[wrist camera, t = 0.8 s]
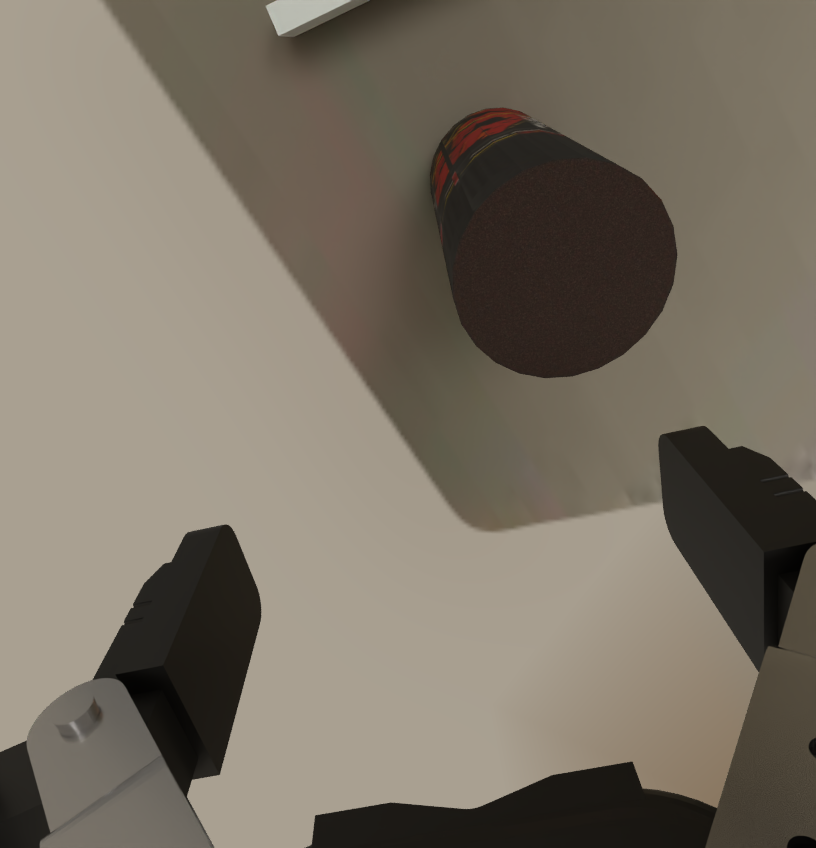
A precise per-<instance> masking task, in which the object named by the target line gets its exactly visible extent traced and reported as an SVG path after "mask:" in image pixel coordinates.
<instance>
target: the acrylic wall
mask: <svg viewBox="0 0 816 848" xmlns="http://www.w3.org/2000/svg"><path fill="white" fill-rule="evenodd" d="M368 1H370V0H277V1H275V2H273V3H271V4H269V5H267V6H266V8H267V10H268V13H269V15H270V17H271V20H272V22H273V24H274V27H275V29H276V31H277V34H278V36H285V37H295V36H297V35H299V34H302V33H304V32H306V31H308V30H310V29H312V28H314V27H316V26H318V25H320V24H322V23H324V22H326V21H328V20H330V19H333V18H335V17H337V16H339V15H341V14H343V13H345V12H347V11H349V10H351V9H353V8H355V7H357V6H359V5H362V4H364V3H366V2H368Z"/></svg>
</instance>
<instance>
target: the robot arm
mask: <svg viewBox="0 0 816 848" xmlns="http://www.w3.org/2000/svg"><path fill="white" fill-rule="evenodd" d="M658 446H659V460H660V473H661V485H662V498H663V509H664V515H665V520H666V524H667V526H668V530H669V532H670V535H671V537H672V539H673V541H674V543H675V544H676V546H677V548H678V549H679V551H680V552H681V554H682V555H683V557H684V558H685V560H686V561H687V562H688V564H689V566H690V567H691V569H692V570H693V572H694V574H695V575H696V576H697V578H698V580H699V581H700V583H701V584H702V586H703V587H704V589H705V590H706V592H707V593H708V595H709V597H710V598H711V600H712V601H713V603H714V604H715V606H716V607H717V609H718V610H719V612H720V613H721V615H722V616H723V618H724V620H725V621H726V623H727V624H728V626H729V627H730V629H731V630H732V632H733V633H734V635H735V636H736V638H737V640H738V641H739V643H740V644H741V646H742V647H743V649H744V650H745V652H746V653H747V655H748V656H749V658H750V659H751V661H752V662H753V664H754V666H755V667H756V669H757V670H758V672H759V674H758V678H757V681H756V684H755V687H754V690H753V694H752V697H751V700H750V704H749V707H748V710H747V714H746V717H745V720H744V723H743V727H742V730H741V733H740V736H739V739H738V743H737V746H736V749H735V753H734V756H733V759H732V762H731V766H730V769H729V772H728V775H727V778H726V782H725V785H724V788H723V791H722V795H721V798H720V801H719V804H718V808H715V807H713V806H710V805H708V804H706V803H703V802H701V801H699V800H695V799H692V798H689V797H686V796H683V795H679V794H675V793H670V792H665V791H660V790H652V789H642V787H641V784H640V781H639V778H638V775H637V773H636V770H635V767H634V765H633V762H627V763H621V764H615V765H609V766H603V767H598V768H592V769H586V770H580V771H574V772H568V773H562V774H556V775H552V776H549V777H547V778H545V779H542V780H540V781H538V782H536V783H533V784H531V785H529V786H527V787H524V788H522V789H520V790H518V791H515V792H513V793H511V794H509V795H506V796H504V797H501V798H499V799H497V800H495V801H492V802H490V803H488V804H486V805H483V806H481V807H478V808H474V809H457V808H445V807H434V806H423V805H412V804H400V803H387V804H380V805H374V806H368V807H363V808H357V809H351V810H345V811H339V812H333V813H328V814H321V815H316V816H315V822H314V831H313V840H312V845H310V846H308V847H306V848H816V500H815V499H814V498H813V497H812V496H811V495H810V494H809V493H808V492H806V491H805V492H804V491H803V488H802V487H801V486H800V485H799V484H798V483H797V482H796V481H795V480H794V479H793V478H789V477H788V474H787V473H786V472H785V471H784V470H783V469H782V468H781V467H779V466H778V465H777V464H776V463H775V462H774V461H773V460H772V459H771V458H769V457H767V456H765V455H762V454H760V453H757V452H755V451H753V450H750V449H748V448H745V447H743V446H741V447H736V448H731V449H728V448H727V447H726V446H725V445H724V444H723V443H722V442H721V441H720V440H719V439H718V438H717V437H716V436H715V435H714V434H713V433H712V432H711V431H710V430H709V429H708V428H707V427H705V426H700V427H695V428H690V429H686V430H681V431H676V432H671V433H666V434H662V435H661V436H660V438H659V445H658ZM133 606H134V608H131V609H130V611H129V613H128V615H127V617H126V618H125V621H124V623H125V624H124V625H122V626H121V628H120V630H119V631H118V633H117V635H116V637H115V639H114V641H113V643H112V645H111V647H110V649H109V650H108V652H107V654H106V656H105V658H104V660H103V661H102V663H101V665H100V667H99V669H98V671H97V673H96V674H95V676H94V678H93V680H91V681H88V682H86V683H83V684H81V685H78V686H76V687H74V688H73V689H71V690H69V691H67V692H66V693H64V694H63V695H61V696H60V697H58V698H57V699H56V700H55V701H53V702H52V703H51V704H50V705H49V706H48V707H47V708H46V709H45V710H44V711H43V712H42V713H41V714H40V715H39V717H38V718H37V719H36V721H35V722H34V724H33V725H32V727H31V729H30V731H29V734H28V737H27V741H25V742H22V743H20V744H18V745H16V746H13V747H11V748H9V749H6V750H4V751H2V752H0V848H214V846H213V844H212V842H211V840H210V839H209V837H208V835H207V833H206V831H205V830H204V828H203V826H202V824H201V822H200V820H199V818H198V816H197V815H196V813H195V811H194V809H193V807H192V805H191V804H190V802H189V800H188V798H187V794H188V791H189V787H190V784H191V781H192V779H199V778H204V777H210V776H215V775H220V771H221V768H222V763H223V760H224V757H225V753H226V749H227V745H228V741H229V738H230V734H231V730H232V726H233V722H234V719H235V715H236V711H237V707H238V704H239V700H240V696H241V693H242V689H243V685H244V681H245V678H246V674H247V670H248V666H249V663H250V659H251V655H252V651H253V648H254V643H255V640H256V636H257V632H258V629H259V625H260V621H261V602H260V596H259V592H258V589H257V586H256V584H255V581H254V579H253V576H252V574H251V572H250V569H249V567H248V564H247V562H246V559H245V557H244V554H243V552H242V549H241V547H240V545H239V542H238V540H237V537H236V535H235V533H234V531H233V529H232V528H231V527H230V526H229V525H221V526H216V527H211V528H206V529H202V530H197V531H192V532H188V533H187V534H186V535H185V536H184V538H183V540H182V542H181V544H180V546H179V548H178V550H177V552H176V554H175V556H174V558H173V560H172V562H170V563H165V564H163V565H162V566H161V567H160V568H159V569H158V570H157V571H156V572H155V573H154V574H153V576H151V577H150V579H148V580H147V581H146V582H145V583H144V585H143V587H142V589H141V590H140V593H139V594H138V596H137V598H136V600H135V602H134V603H133Z"/></svg>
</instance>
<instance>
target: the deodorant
mask: <svg viewBox="0 0 816 848" xmlns="http://www.w3.org/2000/svg"><path fill="white" fill-rule="evenodd" d="M430 182H431V194H432V199H433V204H434V209H435V214H436V218H437V223H438V228H439V233H440V237H441V242H442V247H443V252H444V256H445V261H446V266H447V271H448V276H449V280H450V285H451V290H452V295H453V299H454V302H455V305H456V309H457V312H458V315H459V318H460V321H461V324H462V326H463V327H464V329H465V330H466V332H467V333H468V335H469V336H470V338H471V339H472V340H473V342H474V343H475V345H476V346H477V347H478V348H479V349H480V350H482V351H483V352H484V353H485V354H486V355H487V356H489V357H490V358H491V359H492V360H493V361H494V362H496V363H498V364H500V365H502V366H504V367H506V368H509V369H511V370H513V371H515V372H517V373H520V374H525V375H531V376H537V377H542V378H553V377H569V376H575V375H578V374H581V373H585V372H588V371H591V370H595V369H598V368H600V367H602V366H604V365H605V364H607V363H609V362H611V361H613V360H614V359H616V358H618V357H620V356H621V355H623V354H624V353H626V352H627V351H628V350H629V349H630V348H631V347H632V346H633V345H634V344H636V343H637V342H638V341H639V340H640V339H641V338H642V337H643V336H644V335H645V334H646V333H647V332H648V330H649V329H650V327H651V326H652V325H653V323H654V322H655V320H656V319H657V318H658V316H659V315H660V313H661V312H662V310H663V308H664V305H665V303H666V301H667V298H668V296H669V293H670V291H671V288H672V286H673V283H674V275H675V268H676V260H677V249H676V242H675V235H674V228H673V224H672V222H671V220H670V218H669V216H668V213H667V211H666V209H665V207H664V205H663V202H662V200H661V199H660V198H659V197H658V196H657V195H656V194H655V192H654V191H653V190H652V189H651V188H650V187H649V186H648V185H647V184H646V183H645V181H644V180H643V179H642V178H640V177H638V176H636V175H635V174H633V173H631V172H629V171H628V170H626V169H624V168H622V167H621V166H619V165H617V164H615V163H614V162H612V161H610V160H608V159H606V158H604V157H603V156H601V155H599V154H597V153H595V152H593V151H592V150H590V149H588V148H586V147H584V146H582V145H581V144H579V143H577V142H575V141H573V140H571V139H570V138H568V137H566V136H564V135H562V134H561V133H559V132H557V131H555V130H553V129H551V128H550V127H548V126H546V125H544V124H542V123H540V122H539V121H537V120H535V119H533V118H531V117H529V116H528V115H526V114H524V113H522V112H520V111H516V110H512V109H507V108H490V109H484V110H481V111H478V112H476V113H473V114H470V115H468V116H467V117H465V118H464V119H462V120H461V121H460V122H458V123H457V124H455V125H454V126H453V127H452V128H451V130H450V131H449V132H448V133H447V134H446V135H445V137H444V138H443V139H442V140H441V143H440V145H439V147H438V149H437V151H436V153H435V155H434V158H433V163H432V168H431V173H430Z"/></svg>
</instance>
